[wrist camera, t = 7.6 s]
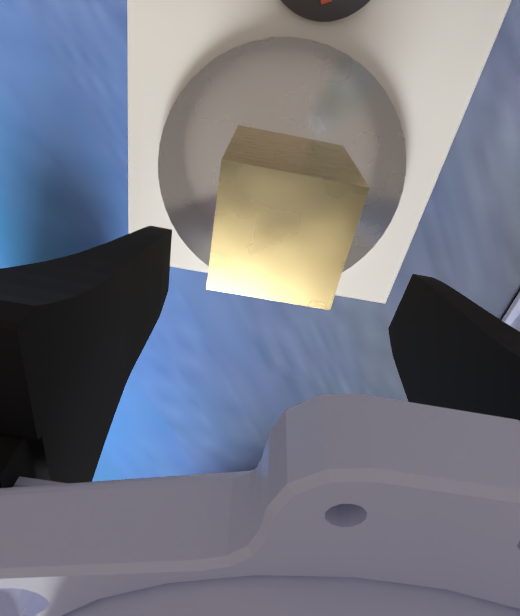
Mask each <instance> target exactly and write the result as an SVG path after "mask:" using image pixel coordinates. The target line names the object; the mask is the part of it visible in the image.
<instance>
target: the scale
mask: <svg viewBox="0 0 520 616" xmlns="http://www.w3.org/2000/svg"><path fill="white" fill-rule="evenodd" d="M510 3H511V0H127V6H128V234H130V233H132V232H134V231H137V230H139V229H142V228H144V227H147V226H156V227H161V228H166V229H172V239H171V255H170V266H171V267H177V268H182V269H188V270H194V271H200V272H206V273H208V269H209V266H207V265H206V264H205V263H204V262H202V261H201V260H200V259H199V258H198V257H197V256H196V255H195V254H194V253H193V252H192V251H191V250H190V249H189V248H188V247H187V246H186V244H185V243H184V242H183V240H182V239H181V238H180V236H179V235H178V233H177V232H176V230H175V228H174V226H173V225H172V223H171V221H170V218H169V216H168V214H167V211H166V209H165V206H164V203H163V199H162V196H161V191H160V185H159V179H158V155H159V145H160V140H161V136H162V132H163V128H164V125H165V122H166V120H167V117H168V114H169V112H170V110H171V108H172V106H173V104H174V103H175V101H176V99H177V97H178V95H179V94H180V93H181V91H182V90H183V89H184V87H185V86H186V85H187V83H188V82H189V81H190V80H191V79H192V78H193V77H194V76H195V75H196V74H197V73H198V72H199V71H200V70H201V69H202V68H203V67H204V66H205V65H207V64H208V63H209V62H211V61H212V60H213V59H215V58H216V57H217V56H219V55H221V54H223V53H225V52H227V51H229V50H230V49H232V48H234V47H237V46H240V45H243V44H245V43H248V42H251V41H255V40H260V39H266V38H271V37H295V38H303V39H310V40H313V41H317V42H320V43H323V44H327V45H329V46H331V47H334V48H336V49H338V50H340V51H342V52H344V53H346V54H347V55H349V56H350V57H352V58H353V59H354V60H356V61H357V62H359V63H360V64H361V65H362V66H364V67H365V68H366V69H367V70H368V71H369V72H370V73H371V74H372V75H373V76H374V77H375V78H376V80H377V81H378V82H379V83H380V85H381V86H382V87H383V89H384V90H385V91H386V93H387V95H388V96H389V98H390V100H391V102H392V104H393V105H394V107H395V110H396V112H397V115H398V118H399V120H400V123H401V127H402V131H403V135H404V139H405V149H406V175H405V181H404V187H403V192H402V195H401V198H400V202H399V205H398V208H397V210H396V212H395V214H394V217H393V219H392V221H391V223H390V224H389V226H388V228H387V229H386V231H385V233H384V234H383V236H382V237H381V238H380V239H379V241H378V242H377V243H376V245H375V246H374V247H373V248H372V249H371V250H370V251H369V252H368V253H367V254H366V255H365V256H364V257H363V258H362V259H361V260H359V261H358V262H357V263H356V264H354V265H353V266H352V267H350V268H349V269H347V270H345V271H344V272H342V274H341V277H340V280H339V283H338V286H337V289H336V292H335V295H339V296H344V297H350V298H356V299H362V300H367V301H373V302H379V303H386V301H387V298H388V296H389V293H390V291H391V289H392V286H393V284H394V281H395V279H396V277H397V274H398V272H399V269H400V267H401V265H402V262H403V260H404V257H405V255H406V253H407V250H408V248H409V245H410V243H411V241H412V238H413V236H414V233H415V231H416V229H417V226H418V224H419V221H420V219H421V217H422V214H423V212H424V209H425V207H426V205H427V202H428V200H429V197H430V195H431V193H432V190H433V188H434V185H435V183H436V181H437V178H438V176H439V173H440V171H441V168H442V166H443V164H444V161H445V159H446V156H447V154H448V152H449V149H450V147H451V144H452V142H453V140H454V137H455V135H456V132H457V130H458V128H459V125H460V123H461V120H462V118H463V116H464V113H465V111H466V108H467V106H468V104H469V101H470V99H471V96H472V94H473V92H474V89H475V87H476V84H477V82H478V80H479V77H480V75H481V72H482V70H483V68H484V65H485V63H486V60H487V58H488V56H489V53H490V51H491V48H492V46H493V44H494V41H495V39H496V36H497V34H498V32H499V29H500V27H501V24H502V22H503V20H504V17H505V15H506V12H507V10H508V8H509V5H510Z"/></svg>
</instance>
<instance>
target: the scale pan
mask: <svg viewBox="0 0 520 616" xmlns="http://www.w3.org/2000/svg"><path fill="white" fill-rule="evenodd" d="M238 125H241V126H246V127H252V128H257V129H262V130H267V131H272V132H277V133H282V134H287V135H292V136H297V137H303V138H308V139H313V140H318V141H323V142H328V143H333V144H338V145H343V146H344V148H345V149H346V151H347V152H348V154H349V156H350V157H351V159H352V160H353V162H354V164H355V165H356V167H357V168H358V170H359V171H360V173H361V175H362V176H363V178H364V179H365V181H366V183H367V184H368V186H369V187H370V188H369V191H368V194H367V198H366V201H365V204H364V207H363V210H362V213H361V216H360V219H359V222H358V225H357V228H356V231H355V234H354V237H353V240H352V243H351V247H350V250H349V253H348V256H347V259H346V262H345V265H344V268H343V271H342V272H344V271H345V270H347V269H349V268H350V267H352V266H353V265H354V264H356V263H357V262H358V261H359V260H361V259H362V258H363V257H364V256H365V255H366V254H367V253H368V252H369V251H370V250H371V249H372V248H373V247H374V246H375V245H376V243H377V242H378V241H379V239H380V238H381V237H382V236H383V234H384V233H385V231H386V229H387V228H388V226H389V224H390V223H391V221H392V219H393V217H394V214H395V212H396V210H397V208H398V205H399V202H400V198H401V195H402V192H403V187H404V181H405V175H406V149H405V139H404V135H403V131H402V127H401V123H400V120H399V118H398V115H397V112H396V110H395V107H394V105H393V104H392V102H391V100H390V98H389V96H388V95H387V93H386V91H385V90H384V89H383V87H382V86H381V85H380V83H379V82H378V81H377V80H376V78H375V77H374V76H373V75H372V74H371V73H370V72H369V71H368V70H367V69H366V68H365V67H364V66H362V65H361V64H360V63H359V62H357V61H356V60H354V59H353V58H352V57H350V56H349V55H347V54H346V53H344V52H342V51H340V50H338V49H336V48H334V47H331V46H329V45H327V44H323V43H320V42H317V41H313V40H310V39H303V38H295V37H271V38H266V39H260V40H255V41H251V42H248V43H245V44H243V45H240V46H237V47H234V48H232V49H230V50H229V51H227V52H225V53H223V54H221V55H219V56H217V57H216V58H215V59H213V60H212V61H211V62H209V63H208V64H207V65H205V66H204V67H203V68H202V69H201V70H200V71H199V72H198V73H197V74H196V75H195V76H194V77H193V78H192V79H191V80H190V81H189V82H188V83H187V85H186V86H185V87H184V89H183V90H182V91H181V93H180V94H179V95H178V97H177V99H176V101H175V103H174V104H173V106H172V108H171V110H170V112H169V114H168V117H167V120H166V122H165V125H164V128H163V132H162V136H161V140H160V145H159V155H158V179H159V185H160V191H161V196H162V199H163V203H164V206H165V209H166V211H167V214H168V216H169V218H170V221H171V223H172V225H173V226H174V228H175V230H176V232H177V233H178V235H179V236H180V238H181V239H182V240H183V242H184V243H185V244H186V246H187V247H188V248H189V249H190V250H191V251H192V252H193V253H194V254H195V255H196V256H197V257H198V258H199V259H200V260H201V261H202V262H204V263H205V264H206V265H207V266H209V261H210V252H211V244H212V235H213V227H214V218H215V210H216V201H217V193H218V184H219V176H220V167H221V159H222V157H223V155H224V153H225V151H226V149H227V147H228V145H229V143H230V141H231V139H232V137H233V135H234V133H235V131H236V129H237V127H238Z"/></svg>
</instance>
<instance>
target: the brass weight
mask: <svg viewBox="0 0 520 616" xmlns="http://www.w3.org/2000/svg"><path fill="white" fill-rule="evenodd" d="M369 188H370V187H369V186H368V184H367V183H366V181H365V179H364V178H363V176H362V175H361V173H360V171H359V170H358V168H357V167H356V165H355V164H354V162H353V160H352V159H351V157H350V156H349V154H348V152H347V151H346V149H345V148H344V146H343V145H338V144H333V143H328V142H323V141H318V140H313V139H308V138H303V137H297V136H292V135H287V134H282V133H277V132H272V131H267V130H262V129H257V128H252V127H246V126H241V125H238V127H237V129H236V131H235V133H234V135H233V137H232V139H231V141H230V143H229V145H228V147H227V149H226V151H225V153H224V155H223V157H222V159H221V167H220V176H219V184H218V193H217V201H216V210H215V218H214V227H213V235H212V244H211V252H210V261H209V269H208V278H207V286H206V289H208V290H214V291H220V292H226V293H232V294H238V295H244V296H250V297H256V298H262V299H268V300H273V301H279V302H285V303H291V304H297V305H303V306H309V307H315V308H321V309H327V310H330V308H331V305H332V302H333V299H334V296H335V292H336V289H337V286H338V283H339V280H340V277H341V274H342V271H343V268H344V265H345V262H346V259H347V256H348V253H349V250H350V247H351V243H352V240H353V237H354V234H355V231H356V228H357V225H358V222H359V219H360V216H361V213H362V210H363V207H364V204H365V201H366V198H367V194H368V191H369Z"/></svg>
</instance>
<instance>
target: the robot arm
mask: <svg viewBox="0 0 520 616" xmlns="http://www.w3.org/2000/svg"><path fill="white" fill-rule="evenodd" d="M171 239H172V229H166V228H161V227H156V226H147V227H144V228H142V229H139V230H137V231H134V232H132V233H130V234H127V235H125V236H123V237H120V238H118V239H115V240H113V241H111V242H108V243H105V244H103V245H100V246H97V247H94V248H91V249H89V250H86V251H83V252H80V253H77V254H73V255H70V256H66V257H62V258H58V259H54V260H50V261H45V262H41V263H35V264H28V265H22V266H16V267H10V268H2V269H0V616H520V292H519V293H518V295H517V296H516V298H515V300H514V301H513V303H512V304H511V306H510V308H509V309H508V311H507V312H506V314H505V316H504V317H503V319H502V320H500V319H498V318H497V317H495V316H494V315H492V314H491V313H489V312H487V311H486V310H484V309H483V308H481V307H480V306H478V305H477V304H475V303H474V302H472V301H471V300H469V299H468V298H467V297H465V296H463V295H462V294H460V293H459V292H457V291H456V290H454V289H453V288H451V287H450V286H448V285H446V284H445V283H443V282H441V281H439V280H437V279H435V278H432V277H427V276H421V275H416V274H413V275H412V277H411V279H410V281H409V284H408V286H407V288H406V290H405V293H404V295H403V297H402V299H401V302H400V304H399V306H398V308H397V311H396V313H395V315H394V317H393V320H392V322H391V324H390V326H389V335H390V342H391V348H392V353H393V357H394V360H395V364H396V367H397V369H398V372H399V375H400V378H401V381H402V384H403V387H404V390H405V393H406V395H407V398H408V401H409V402H405V401H399V400H393V399H387V398H381V397H375V396H369V395H362V394H332V395H318V396H316V397H314V398H312V399H309V400H307V401H305V402H302V403H300V404H298V405H296V406H293V407H291V408H289V409H287V410H285V412H284V413H283V414H282V416H281V417H280V418H279V420H278V421H277V423H276V424H275V425H274V427H273V428H272V429H271V431H270V432H269V435H268V438H267V442H266V445H265V448H264V452H263V455H262V458H261V460H260V462H259V464H258V466H257V467H256V468H255V469H253V470H251V471H239V472H224V473H210V474H196V475H182V476H168V477H153V478H139V479H125V480H111V481H96V482H92V479H93V476H94V473H95V470H96V467H97V464H98V461H99V458H100V455H101V452H102V449H103V446H104V443H105V440H106V437H107V434H108V432H109V429H110V426H111V423H112V420H113V417H114V414H115V412H116V409H117V406H118V404H119V401H120V398H121V395H122V393H123V390H124V387H125V385H126V382H127V380H128V378H129V376H130V373H131V371H132V369H133V367H134V365H135V363H136V361H137V359H138V357H139V355H140V354H141V352H142V350H143V348H144V346H145V344H146V342H147V340H148V338H149V336H150V334H151V332H152V330H153V328H154V326H155V324H156V322H157V320H158V318H159V316H160V313H161V311H162V308H163V305H164V302H165V298H166V295H167V292H168V286H169V270H170V255H171Z"/></svg>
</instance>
